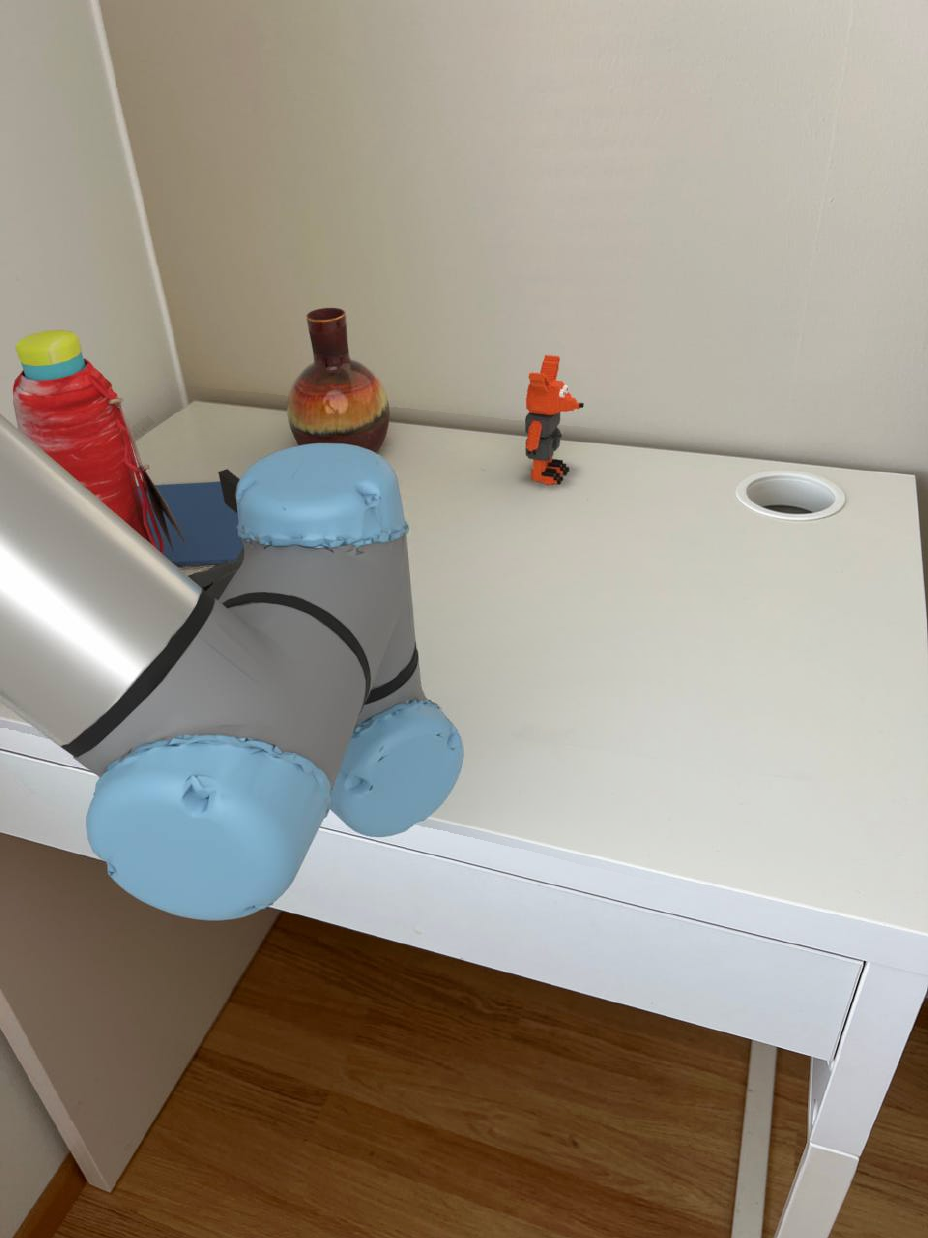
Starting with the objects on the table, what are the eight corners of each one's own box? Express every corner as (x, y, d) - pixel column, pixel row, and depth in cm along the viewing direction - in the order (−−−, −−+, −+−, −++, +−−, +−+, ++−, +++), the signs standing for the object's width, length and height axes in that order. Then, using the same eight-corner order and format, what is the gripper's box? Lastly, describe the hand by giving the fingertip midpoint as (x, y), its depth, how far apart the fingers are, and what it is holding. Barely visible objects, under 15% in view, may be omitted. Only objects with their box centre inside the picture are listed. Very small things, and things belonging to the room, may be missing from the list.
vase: (406, 459, 110) (393, 320, 101) (307, 481, 107) (285, 339, 98) (375, 422, 118) (361, 290, 109) (284, 441, 115) (261, 307, 106)
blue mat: (69, 572, 94) (68, 567, 94) (114, 491, 107) (113, 487, 107) (303, 559, 94) (302, 555, 93) (320, 480, 107) (319, 476, 106)
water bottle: (226, 594, 89) (164, 316, 75) (191, 647, 83) (115, 356, 69) (102, 586, 92) (18, 315, 77) (58, 638, 85) (-42, 353, 71)
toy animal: (570, 497, 101) (571, 383, 94) (519, 490, 103) (516, 378, 96) (592, 462, 107) (595, 353, 100) (543, 456, 109) (542, 349, 102)
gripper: (86, 783, 57) (-13, 617, 71) (445, 619, 68) (297, 505, 83) (47, 680, 53) (-50, 526, 67) (438, 523, 64) (283, 420, 78)
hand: (142, 514), depth 75 cm, fingers open, 13 cm apart
